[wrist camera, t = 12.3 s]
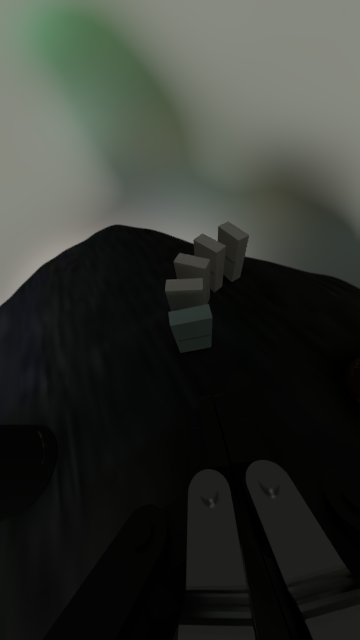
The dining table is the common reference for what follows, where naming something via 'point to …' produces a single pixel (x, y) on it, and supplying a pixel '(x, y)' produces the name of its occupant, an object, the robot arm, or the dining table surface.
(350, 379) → the food container
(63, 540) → the dining table surface
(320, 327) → the dining table surface
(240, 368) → the dining table surface
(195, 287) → the domino
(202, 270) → the domino
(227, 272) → the domino
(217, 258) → the domino
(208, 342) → the domino
